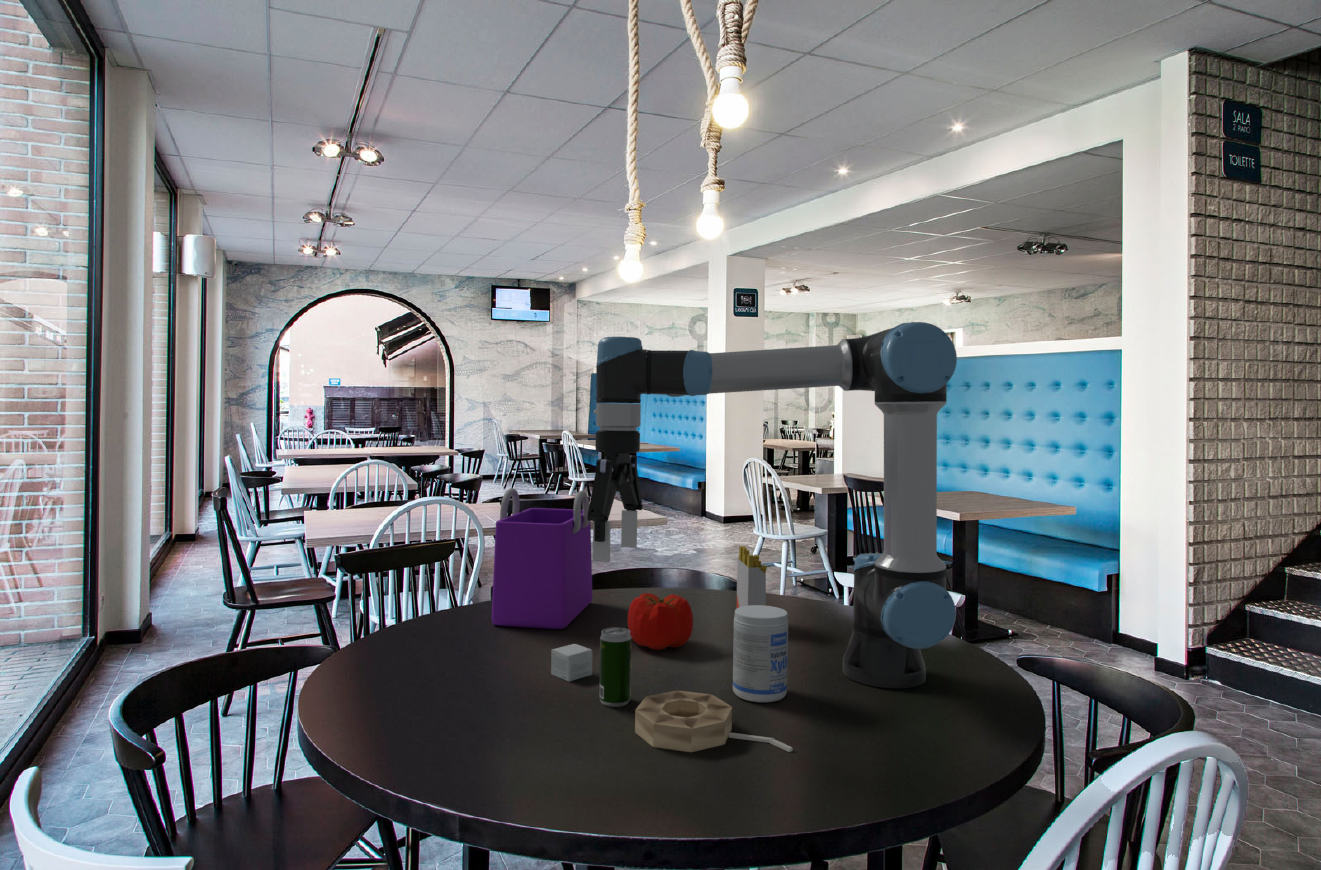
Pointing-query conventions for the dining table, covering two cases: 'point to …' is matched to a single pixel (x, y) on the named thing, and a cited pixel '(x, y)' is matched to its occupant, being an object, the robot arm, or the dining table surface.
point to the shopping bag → (541, 565)
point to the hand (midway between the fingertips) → (615, 553)
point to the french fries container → (750, 579)
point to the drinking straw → (761, 740)
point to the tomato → (660, 621)
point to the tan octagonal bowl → (683, 721)
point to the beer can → (615, 667)
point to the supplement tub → (760, 653)
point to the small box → (571, 662)
